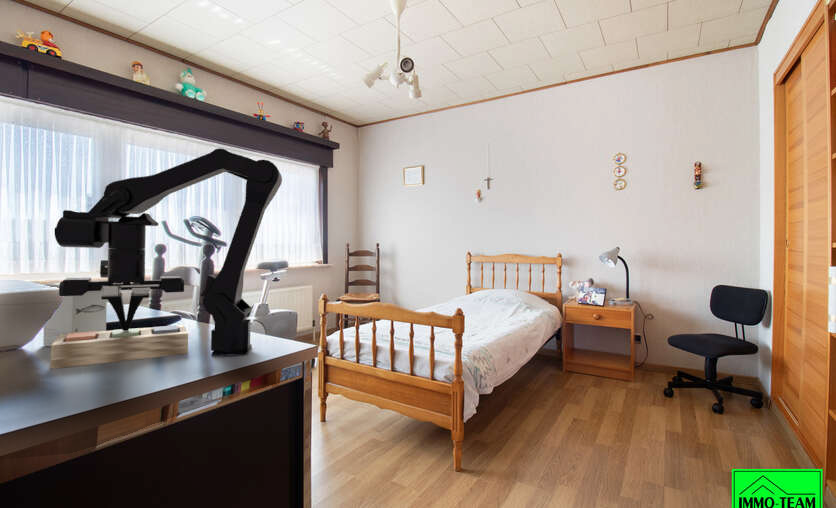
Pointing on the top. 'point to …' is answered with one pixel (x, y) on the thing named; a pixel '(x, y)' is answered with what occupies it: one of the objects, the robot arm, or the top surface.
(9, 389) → the top surface
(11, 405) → the top surface
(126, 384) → the top surface
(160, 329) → the key slate
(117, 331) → the key sage
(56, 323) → the supplement box
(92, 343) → the wooden slotted block
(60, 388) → the top surface
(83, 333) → the key terracotta
